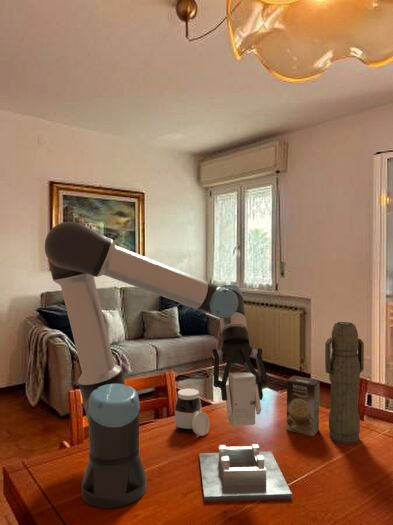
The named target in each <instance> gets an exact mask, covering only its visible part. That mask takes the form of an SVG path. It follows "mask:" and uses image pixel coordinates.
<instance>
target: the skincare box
mask: <svg viewBox="0 0 393 525" xmlns="http://www.w3.org/2000/svg"><path fill="white" fill-rule="evenodd" d="M228 375H229V376H228V380H227V382H228V383H227V385H229V389H230V399H231V409H232V411H231V415H227V420H228V422H229V423H230V425H231V426H232V427H240V426H241V427H243V426H254V425H255V424H256V407H255V397H256V376H255V375H253V374H252V373H251V372H247V371H246V372H243V371H241V372H229V374H228Z"/></svg>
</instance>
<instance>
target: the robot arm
mask: <svg viewBox="0 0 393 525" xmlns="http://www.w3.org/2000/svg"><path fill="white" fill-rule="evenodd" d="M44 253H45V256H46V257H47V263H48V265H49V269H50V273H51V277H52V281H53V282H54V283H56V284H58V285H59V286H60V289H61V292H62V297H63V300H64V305H65V308H66V313H67V317H68V320H69V324H70V325H69V326H70V328H71V333H72V337H73V341H74V345H75V348H76V349H75V350H76V352H77V353H76V354H77V358H78V361H79V365H80V370H81V374H80V376H79V378H78V380H77V383H78V386H79V391H80V394H81V399H82V401H81V402H82V405H83V409H84V411H85V415H86V419H87V424H88V462H87V465H86V469H85V471H84V474H83V477H82V481H81V487H80V488H81V489H80V490H81V498H82V500H83V501H84V502H85V503H86V504H88V505H90V506H92V507H95V508H100V509H117V508H120V507H125V506H128V505H131V504H133V503H135V502H136V501H138V500H139V499H140V498H141V497H143V496H144V494H145V493H146V491H147V474H146V471H145V469H144V466H143V463H142V460H141V457H140V456H141V455H140V408H141V407H140V406H141V405H140V399H139V393H138V392H137V391H136V389H135V388H133V387H132V386H130V385H126V381H125V378H124V374H123V369H122V367H121V365H118V364H116V363H115V360H114V356H113V353H112V349H111V345H110V340H109V335H108V331H107V326H106V323H105V318H104V314H103V311H102V310H103V309H102V306H101V301H100V298H99V293H98V289H97V285H96V282H95V277H96V278H99V277H102V276H105V277H109V278H111V279H114V280H117V281H120V282H122V283H124V284H128V285H130V286H133V287H135V288H139V289H141V290H144V291H146V292H149V293H151V294H155V295H158V296H160V297H163V298H166V299H169V300H171V301H174V302H177V303H180V304H181V305H182V307H183V306H184V307H187V308H189V309H194V310H197V311H201V312H204V313H206V314H209V315H211V316H214V317H215V318H219V322H220V323H219V324H220V333H221V336H220V337H221V345H222V346H221V348H220V349H216V348H213V349H212V351H211V357H212V360H213V383H212V384H213V387H214V388H219V389H220V395H221V396H220V397H221V400H222V401H223V402H224V401H225V402H226V414H227V416H228V415H231V411H232V409H231V399H230V389H229V385H228V383H227V382H228V380H229V375H228V374H229V373H231V372H230V371H231V367H232V365H237V364H240V365H243V367H244V368H245V370H246V372H251V373H252V374H253V375H255V376H256V397H255V415H257V416H258V415H260V414H261V411H262V406H261V401H262V400H263V397H264V393H263V387H267V385H268V383H269V382H268V381H269V378H268V375H267V372H266V368H265V364H264V360H263V357H262V356H263V349H262V348H257V349H256V348H255V349H254V348H253V347H252V346H251V344H250V339H249V338H250V337H249V331H248V324H247V317H246V310H245V304H244V301H245V300H244V297H243V292H242V290H241V288H240V286H237V285H236V284H224V285H222V286H218V285H216V284H214V283H211V282H209V281H207V280H204V279H202V278H199V277H197V276H194V275H191V274H188V273H186V272H184V271H181V270H179V269H176V268H174V267H171V266H168V265H166V264H164V263H161V262H159V261H156V260H154V259H151V258H148V257H146V256H144V255H141V254H139V253H136V252H133V251H131V250H128V249H126V248H124V247H122V246H121V247H120V246H118V245H117V244H115V242H114V239H113V238H110V237H107V236H105V235H103V234H101V233H99V232H96V231H95V230H93V229H91V228H89V227H88V226H86V225H84V224H81V223H80V222H76V221H64V222H61V223H58V224H56V225H55V226H53V227H52V228H51V229H50V231H49V232H48V233H47V235H46V238H45V239H44ZM221 355H222V356H223V357H224V358H225V359H226V364H225V368H224V372H223V375H222V378H221V380H220V359H221ZM251 355H253V358H254V359H255V363H256V367H257V371H258V373H257V371H256V369H255V367H254V365H253V363H252V361H251V358H250V356H251ZM258 374H259V375H258Z"/></svg>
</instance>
